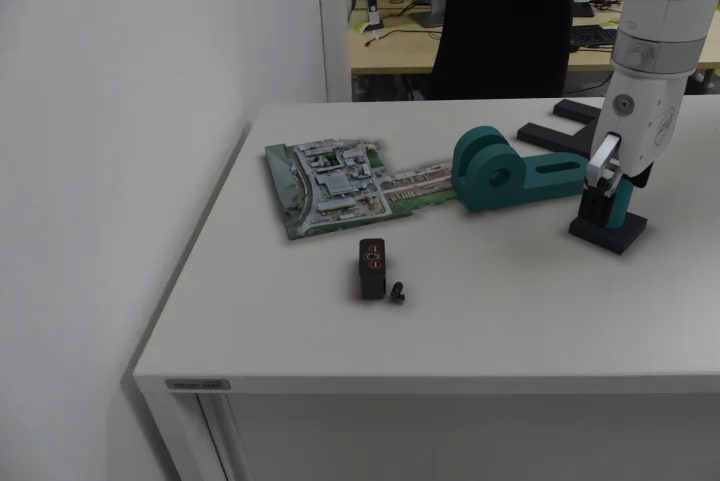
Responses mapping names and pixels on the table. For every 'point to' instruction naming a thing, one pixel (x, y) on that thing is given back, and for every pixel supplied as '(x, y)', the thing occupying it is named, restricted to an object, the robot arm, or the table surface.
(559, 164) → the bracket
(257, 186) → the table surface
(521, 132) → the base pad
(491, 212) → the table surface
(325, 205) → the model
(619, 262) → the table surface
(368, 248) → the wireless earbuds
